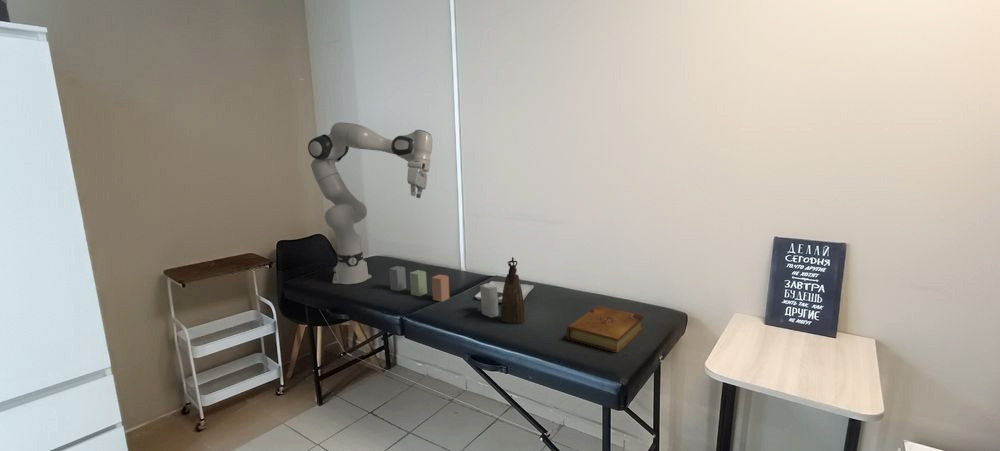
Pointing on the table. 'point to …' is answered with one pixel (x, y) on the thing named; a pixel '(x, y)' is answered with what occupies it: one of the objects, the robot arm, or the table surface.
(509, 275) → the statue
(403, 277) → the slate block
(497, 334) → the table surface
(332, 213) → the robot arm
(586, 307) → the table surface
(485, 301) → the skincare box
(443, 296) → the terracotta block
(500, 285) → the salad plate
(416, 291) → the sage block
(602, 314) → the diary
